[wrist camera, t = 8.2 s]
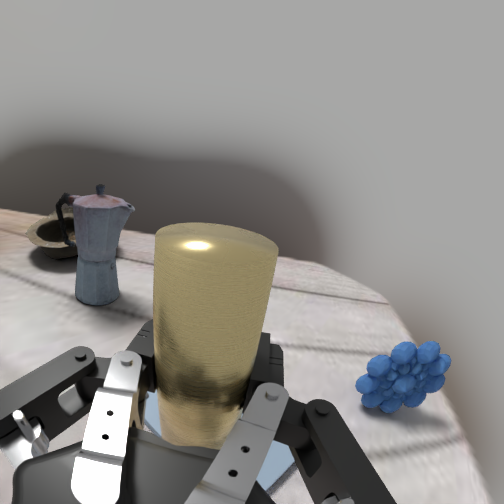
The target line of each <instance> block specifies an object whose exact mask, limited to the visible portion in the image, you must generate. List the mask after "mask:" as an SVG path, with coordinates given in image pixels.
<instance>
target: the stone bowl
mask: <svg viewBox="0 0 504 504" xmlns="http://www.w3.org/2000/svg"><path fill="white" fill-rule="evenodd" d="M62 213H63V218H64V223H65V226H66V232H67V235H68V238H69V240H70V241H74V242H75V243H76V238H75V227H74V216H73V208H65V209H62ZM26 235H27V236H28V238H29V240H30V241H31V242H32V243H33V244H35V245H38V246H41V248H42V250H43V251H44V252H45V254H46V255H48V256H49V257H51V258H53V259H60V258H68V257H72V256H75V255H78V250H77V246H76V245H75V247H71V246H68V245H66V244H65V243H64V239H63V236H62V231H61V228H60V224H59V220H58V216H57V213H56V210H55V211H54V212H53V213H52V214H50V215H49V216H48V217H47V218H42V219H40V220H39V221H38V222H36V223H35V224H33V225H31V227H30V228H29V229H28V230H27V232H26Z"/></svg>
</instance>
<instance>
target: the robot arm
mask: <svg viewBox="0 0 504 504" xmlns="http://www.w3.org/2000/svg"><path fill="white" fill-rule="evenodd" d="M73 384H75V387H73V388H72V389H70V390H69V391H67V392H66V393H64V394H62V395H61V396H59V394H60V393H61V392H62V391H64V390H65V389H67V388H69V387H70V386H72V385H73ZM156 389H157V388H156V374H155V356H154V325H153V319H152V320H150V321H148V322H147V323H145V324H144V325H143V327H142V328H141V330H140V331H139V332H138V334H137V335H136V336H135V338H134V339H133V340H132V342H131V343H130V345H129V346H128V347H127V349H126V350H125V351H120V352H117V353H116V354H114V355H113V357H112V358H101V357H95V354H94V352H93V351H92V350H91V349H90V348H88V347H84V346H78V347H74V348H72V349H70V350H69V351H67V352H65V353H63V354H62V355H60V356H58V357H56V358H55V359H53V360H51V361H49V362H48V363H46V364H44V365H42V366H41V367H39V368H37V369H35V370H34V371H32V372H30V373H28V374H27V375H25V376H23V377H21V378H20V379H18V380H16V381H14V382H13V383H11V384H9V385H7V386H6V387H4V388H2V389H1V390H0V449H1V450H2V452H3V453H4V455H5V456H6V458H7V459H8V461H9V462H10V464H11V465H12V466H13V468H14V469H15V472H14V475H13V497H12V504H275V502H274V501H273V500H272V499H271V498H270V496H269V495H268V494H267V493H266V491H265V490H264V489H263V488H262V486H261V485H260V484H259V483H258V481H257V480H256V479H257V476H258V474H259V472H260V470H261V467H262V465H263V463H264V460H265V458H266V456H267V453H268V451H269V448H270V446H271V444H272V441H273V440H274V441H277V442H280V443H282V444H285V445H288V446H289V449H290V451H291V454H292V456H293V458H294V460H295V463H296V465H297V467H298V469H299V472H300V474H301V476H302V478H303V480H304V483H305V485H306V487H307V489H308V491H309V493H310V496H311V498H312V500H313V502H314V504H397V503H396V502H395V500H394V499H393V497H392V496H391V494H390V493H389V491H388V489H387V488H386V486H385V485H384V483H383V482H382V480H381V479H380V477H379V475H378V474H377V472H376V471H375V469H374V468H373V466H372V464H371V463H370V461H369V460H368V458H367V457H366V455H365V453H364V452H363V450H362V449H361V447H360V446H359V444H358V442H357V441H356V439H355V438H354V436H353V434H352V433H351V431H350V430H349V428H348V427H347V425H346V423H345V422H344V420H343V419H342V417H341V415H340V414H339V412H338V411H337V409H336V407H335V406H334V405H333V404H332V403H330V402H328V401H326V400H322V399H315V400H312V401H310V402H308V403H307V404H304V403H301V402H298V401H296V400H294V399H292V398H291V397H289V394H288V392H287V390H286V389H285V388H284V367H283V351H282V349H281V347H280V346H279V345H277V344H270V333H264V332H261V336H260V340H259V345H258V349H257V353H256V358H255V362H254V366H253V370H252V373H251V376H250V380H249V384H248V388H247V393H246V397H245V401H244V405H243V411H242V413H244V414H243V415H242V417H241V419H238V420H237V421H236V423H235V425H234V427H233V428H232V430H231V432H230V434H229V435H228V437H227V439H226V441H225V442H224V444H223V446H222V447H221V449H220V450H217V449H212V448H207V447H197V446H176V445H173V444H171V443H169V442H167V441H165V440H163V439H162V438H160V437H158V436H156V435H154V434H153V433H150V432H147V431H144V430H143V428H144V418H145V408H146V393H147V391H149V392H152V393H155V391H156ZM58 396H59V397H58ZM90 411H91V413H90V416H89V420H88V424H87V428H86V433H85V437H84V440H83V441H80V442H78V443H75V444H72V445H70V446H67V447H64V448H61V449H58V450H55V451H52V452H49V453H48V450H47V449H48V447H49V441H51V440H52V439H53V438H55V437H56V436H58V435H59V434H60V433H62V432H63V431H64V430H66V429H67V428H68V427H70V426H71V425H73V424H74V423H75V422H77V421H78V420H79V419H81V418H82V417H83V416H85V415H86V414H87V413H89V412H90Z"/></svg>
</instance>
